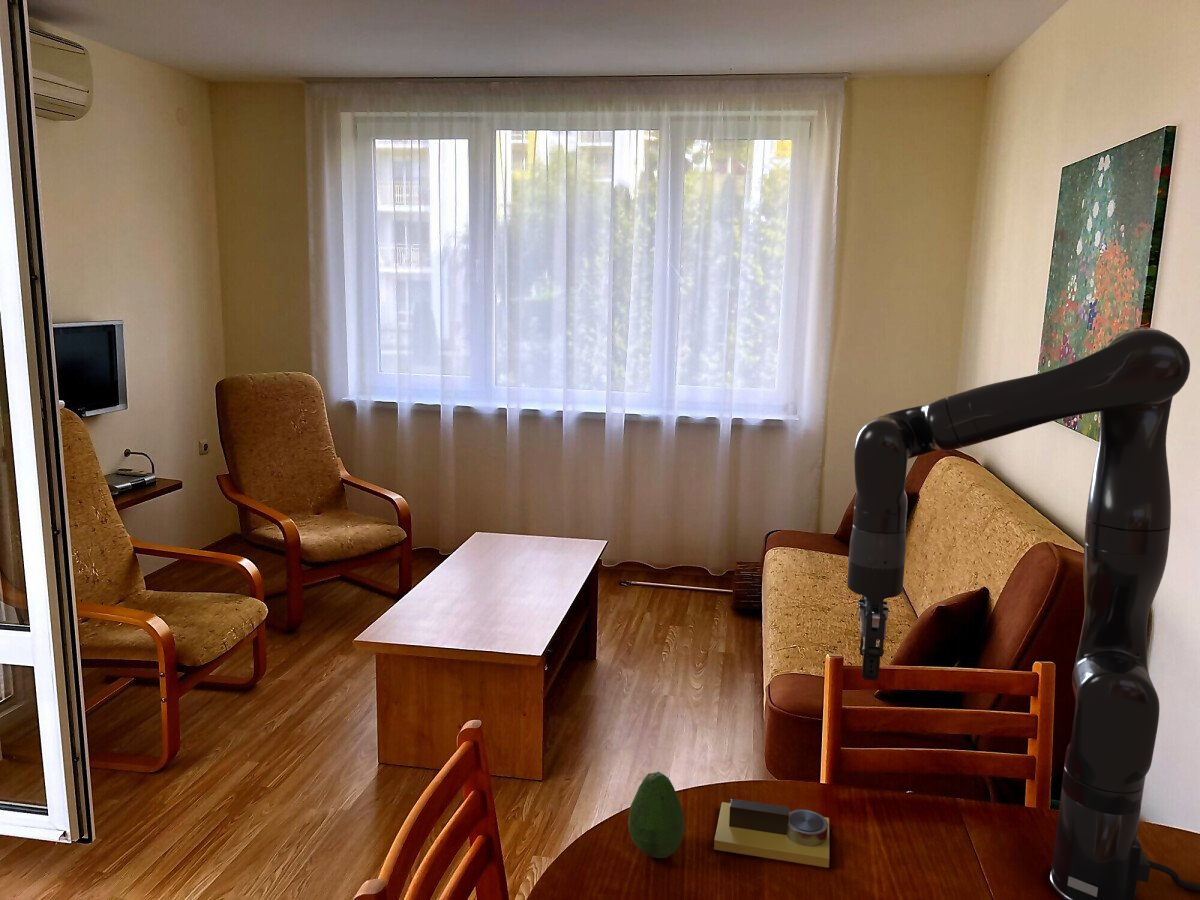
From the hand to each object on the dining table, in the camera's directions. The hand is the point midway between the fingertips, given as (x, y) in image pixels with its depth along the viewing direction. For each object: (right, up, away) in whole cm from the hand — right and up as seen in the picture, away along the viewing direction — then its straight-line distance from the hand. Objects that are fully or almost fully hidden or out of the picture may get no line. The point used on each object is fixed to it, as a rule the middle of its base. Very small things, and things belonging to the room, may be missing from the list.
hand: (868, 666), depth 130 cm
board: (-13, -26, +3) cm, 29 cm away
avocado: (-31, -27, -1) cm, 41 cm away
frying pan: (-13, -24, +3) cm, 28 cm away
